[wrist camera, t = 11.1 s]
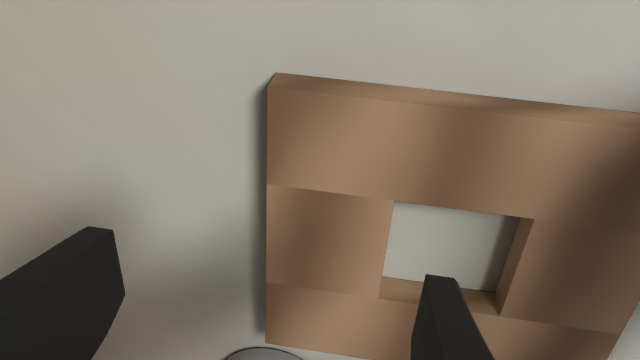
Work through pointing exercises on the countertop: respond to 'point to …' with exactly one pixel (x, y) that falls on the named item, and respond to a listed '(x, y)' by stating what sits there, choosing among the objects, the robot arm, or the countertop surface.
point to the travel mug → (262, 355)
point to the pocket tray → (452, 192)
